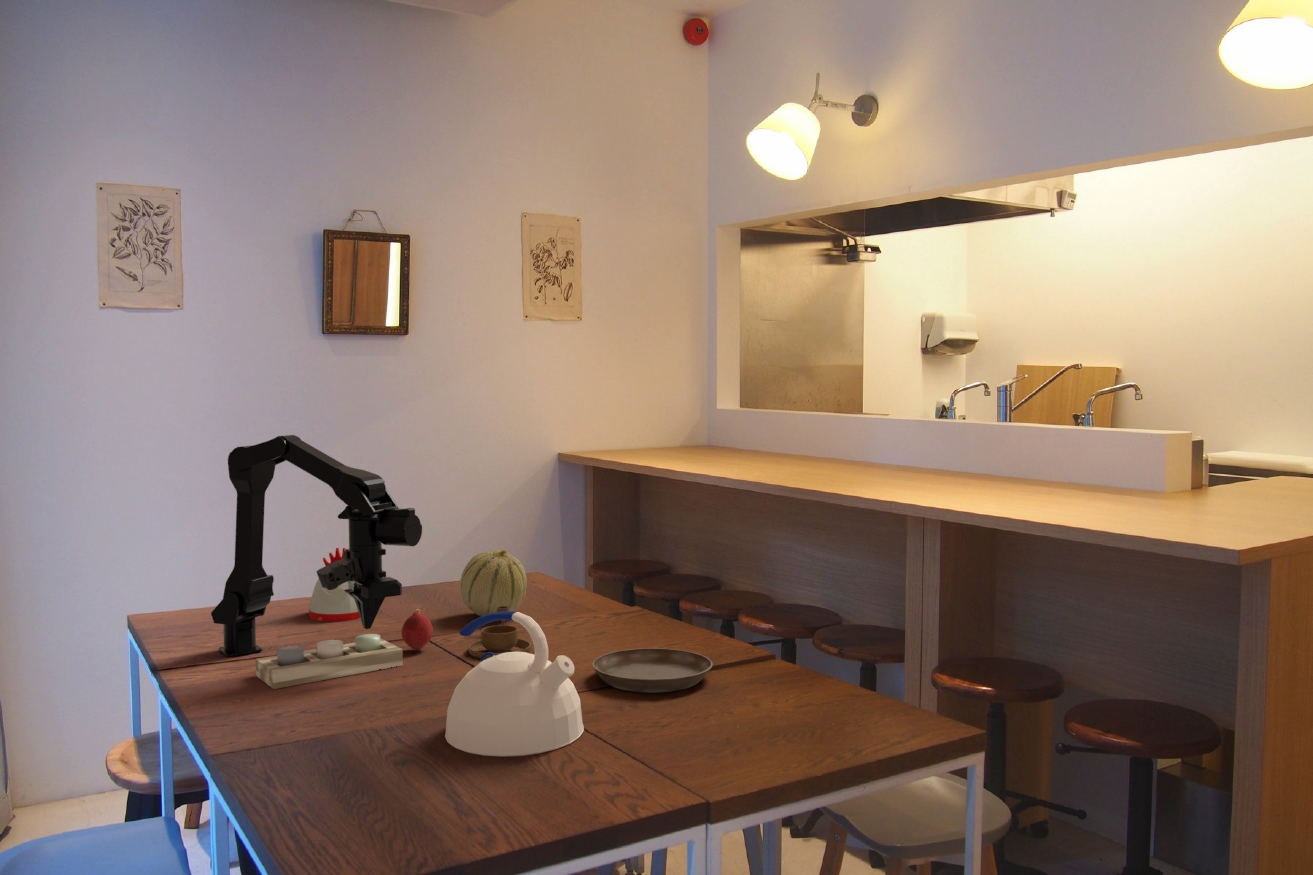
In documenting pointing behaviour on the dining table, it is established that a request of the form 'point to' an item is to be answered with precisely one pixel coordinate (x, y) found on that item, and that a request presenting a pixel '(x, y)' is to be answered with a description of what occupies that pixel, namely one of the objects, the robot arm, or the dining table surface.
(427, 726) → the dining table surface
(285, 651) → the button slate
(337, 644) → the button cream
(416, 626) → the onion
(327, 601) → the kitchen timer
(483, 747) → the kettle
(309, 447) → the robot arm
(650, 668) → the plant saucer
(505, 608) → the place setting
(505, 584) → the cantaloupe
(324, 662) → the wooden compartment tray
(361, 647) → the button sage
